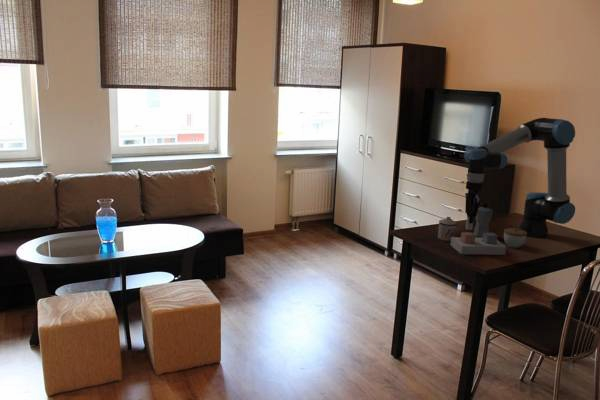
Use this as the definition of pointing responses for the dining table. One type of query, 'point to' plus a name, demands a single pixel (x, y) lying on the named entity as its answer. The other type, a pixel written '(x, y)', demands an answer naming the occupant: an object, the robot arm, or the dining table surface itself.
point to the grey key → (489, 238)
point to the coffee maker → (482, 220)
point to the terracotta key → (468, 238)
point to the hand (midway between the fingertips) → (468, 229)
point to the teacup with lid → (447, 229)
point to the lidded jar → (514, 237)
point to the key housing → (478, 247)
